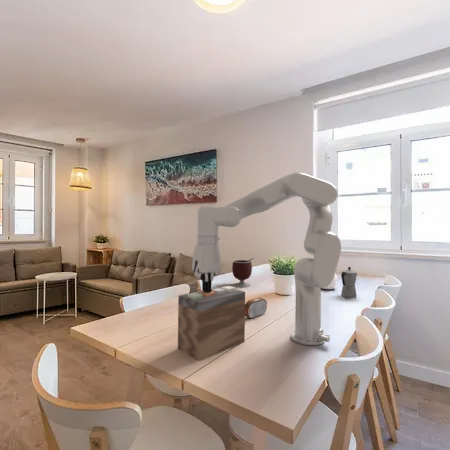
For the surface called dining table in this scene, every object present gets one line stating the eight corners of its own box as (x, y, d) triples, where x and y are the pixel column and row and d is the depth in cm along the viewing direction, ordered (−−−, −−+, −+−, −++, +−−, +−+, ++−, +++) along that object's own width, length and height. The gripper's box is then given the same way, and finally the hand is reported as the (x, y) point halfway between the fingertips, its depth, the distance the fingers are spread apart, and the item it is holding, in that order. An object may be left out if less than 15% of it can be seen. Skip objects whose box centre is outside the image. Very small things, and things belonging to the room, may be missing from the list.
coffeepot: (346, 292, 189) (347, 265, 189) (361, 295, 182) (362, 267, 181) (334, 296, 179) (334, 267, 179) (348, 299, 172) (349, 269, 172)
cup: (319, 285, 210) (320, 266, 210) (339, 288, 202) (339, 268, 202) (313, 288, 200) (314, 269, 199) (333, 291, 192) (334, 271, 192)
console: (244, 341, 110) (245, 291, 110) (199, 360, 95) (200, 302, 95) (222, 332, 119) (223, 286, 119) (177, 348, 104) (178, 295, 103)
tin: (262, 312, 146) (263, 295, 146) (267, 313, 144) (268, 296, 144) (242, 319, 136) (243, 301, 136) (247, 320, 134) (248, 302, 134)
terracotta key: (214, 298, 105) (214, 292, 105) (206, 300, 102) (206, 293, 102) (207, 296, 108) (207, 290, 108) (199, 298, 105) (199, 291, 105)
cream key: (235, 293, 113) (235, 287, 112) (228, 295, 110) (228, 289, 110) (228, 291, 115) (228, 285, 115) (221, 293, 113) (221, 287, 113)
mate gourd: (229, 286, 202) (230, 257, 202) (234, 282, 215) (235, 255, 215) (251, 288, 198) (252, 259, 197) (255, 284, 211) (256, 256, 211)
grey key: (225, 296, 109) (225, 289, 109) (218, 297, 106) (218, 291, 106) (218, 294, 111) (218, 287, 111) (211, 295, 109) (211, 289, 109)
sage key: (202, 301, 101) (202, 294, 101) (194, 303, 98) (194, 296, 98) (195, 299, 104) (196, 292, 104) (187, 301, 101) (187, 294, 101)
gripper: (216, 239, 112) (215, 287, 113) (184, 240, 102) (183, 293, 102) (229, 240, 107) (228, 290, 107) (198, 242, 97) (197, 297, 97)
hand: (206, 291), depth 105 cm, fingers closed
